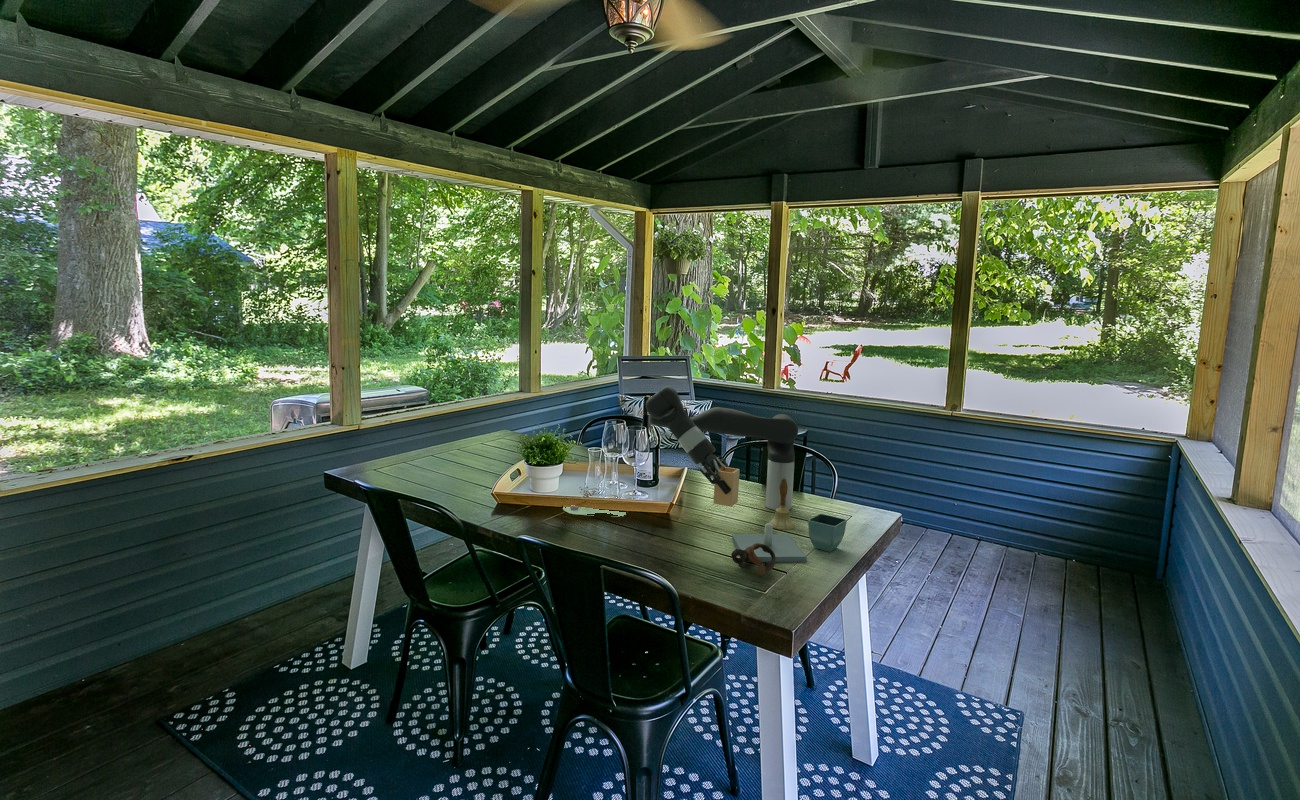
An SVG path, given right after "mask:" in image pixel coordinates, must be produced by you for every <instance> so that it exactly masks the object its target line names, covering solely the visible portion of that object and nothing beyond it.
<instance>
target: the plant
mask: <svg viewBox="0 0 1300 800" xmlns="http://www.w3.org/2000/svg"><path fill="white" fill-rule="evenodd" d="M584 485H587V483H584ZM580 488H581V489H580ZM579 489H580V490H581V491H580V494H583V495H582V498H584V497H589V496H592V497H593V496H594V493H592V490H591V491H590V490H587V489H589V486H585V487H584V488H583V487H581V486H579ZM562 511H564V512H566V513H568V514H570V515H571V514H572V515H581V516H582V515H583V516H588V515H587V514H595V513H607V514H610V513H611V514H613V515H618V516H617V517H620V516H622V517H625V516H626V515H627V514H626V512H619V511H609V510H599V509H593V508H585V507H578V506H575V505H571V507H566V508H565V507H563V508H562ZM624 515H625V516H624Z"/></svg>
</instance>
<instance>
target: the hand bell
mask: <svg viewBox="0 0 1300 800" xmlns="http://www.w3.org/2000/svg"><path fill="white" fill-rule="evenodd" d="M787 491H788V485H787V482H786V479H785V478H782V481H781V483H780V495H781V503H780V508H777V509H776V510H775V512H774V513H775V514H774V516H773V519H772V520H770V521H769V523H770V524H772V526H773V529H776V530H780V531H781V530H785V531H788V530H792V529H794V528H795V527H796V526H795V523H794V522H793V521H792V518H791V513H790V509H787V508H786V495H787Z"/></svg>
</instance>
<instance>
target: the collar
mask: <svg viewBox="0 0 1300 800" xmlns="http://www.w3.org/2000/svg"><path fill="white" fill-rule="evenodd" d="M729 467H730V466H729ZM729 467H725V468H726V469H725V470H724V471H723V467H721V468H720V471H719V472H720V473H719V474H720V475H721V477H722V478H723V480H724V481H725V482H726V483H727V485H728V486H729V487H730V488H731V491H730V492H729V493H728V494H725V493H724V492H723V491H722V490H721V488H720V487H719V486H718V485H716V484H714V487H713V504H714V505H719V506H724V507H725V506H726V507H731V508H732V507H733V506H735V504H737V503H738V502H739V487H740V468H734V467H730V468H729ZM715 472H716V470H715ZM723 480H722V481H723Z"/></svg>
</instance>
